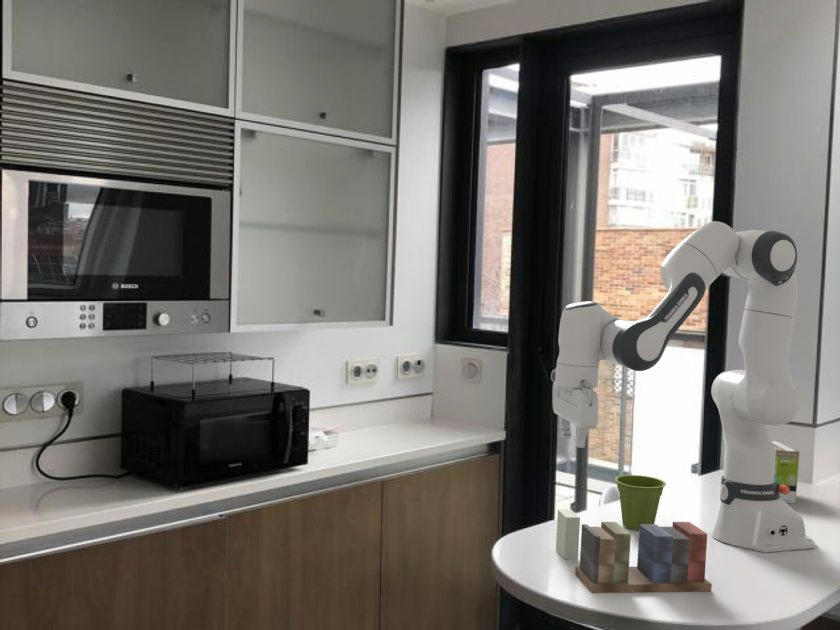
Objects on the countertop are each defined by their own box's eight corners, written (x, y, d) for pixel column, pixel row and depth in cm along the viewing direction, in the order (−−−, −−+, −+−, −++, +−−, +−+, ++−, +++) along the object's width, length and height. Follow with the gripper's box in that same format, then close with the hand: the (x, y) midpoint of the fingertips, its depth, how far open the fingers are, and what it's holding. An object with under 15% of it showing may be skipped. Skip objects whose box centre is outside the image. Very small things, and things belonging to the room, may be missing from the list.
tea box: (797, 504, 242) (800, 450, 241) (760, 502, 242) (763, 449, 241) (775, 490, 257) (779, 439, 256) (741, 489, 257) (744, 438, 256)
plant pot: (602, 522, 216) (605, 476, 216) (642, 518, 221) (644, 473, 220) (633, 536, 205) (636, 488, 205) (673, 532, 210) (676, 485, 210)
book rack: (688, 573, 181) (691, 520, 181) (711, 591, 171) (714, 535, 171) (575, 574, 178) (578, 520, 177) (591, 592, 168) (594, 535, 167)
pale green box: (569, 550, 193) (571, 509, 193) (577, 559, 187) (580, 517, 187) (555, 550, 193) (557, 509, 192) (564, 559, 187) (566, 517, 186)
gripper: (608, 385, 178) (603, 453, 179) (576, 372, 199) (572, 433, 199) (578, 383, 178) (573, 452, 178) (549, 371, 198) (545, 432, 198)
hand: (572, 442), depth 189 cm, fingers open, 8 cm apart
